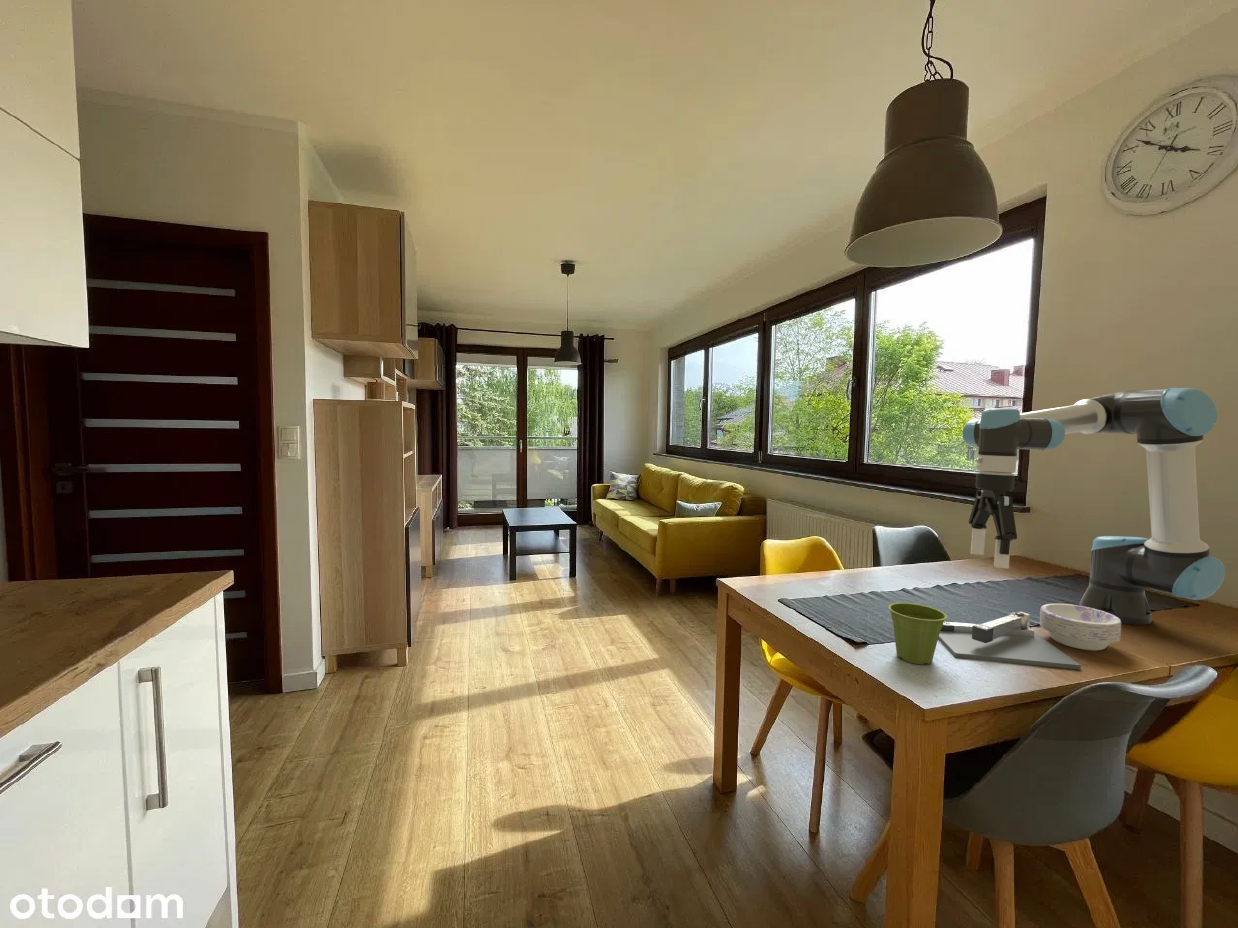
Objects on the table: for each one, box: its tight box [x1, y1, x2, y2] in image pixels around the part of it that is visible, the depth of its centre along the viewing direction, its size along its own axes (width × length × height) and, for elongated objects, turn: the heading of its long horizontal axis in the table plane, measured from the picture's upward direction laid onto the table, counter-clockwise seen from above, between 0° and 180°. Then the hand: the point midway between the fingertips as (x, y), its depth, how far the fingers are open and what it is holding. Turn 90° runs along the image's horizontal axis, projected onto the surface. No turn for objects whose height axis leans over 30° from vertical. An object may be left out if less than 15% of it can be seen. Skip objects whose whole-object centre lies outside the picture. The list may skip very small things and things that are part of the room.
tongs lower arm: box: [940, 620, 1035, 637], centre depth 135 cm, size 22×3×2 cm, turn 81°
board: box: [938, 631, 1082, 670], centre depth 130 cm, size 25×21×1 cm
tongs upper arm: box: [972, 611, 1031, 643], centre depth 130 cm, size 22×4×4 cm, turn 119°
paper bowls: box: [1039, 603, 1122, 651], centre depth 131 cm, size 15×15×8 cm
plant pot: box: [888, 602, 948, 665], centre depth 121 cm, size 12×12×11 cm
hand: (988, 560), depth 127 cm, fingers open, 13 cm apart
